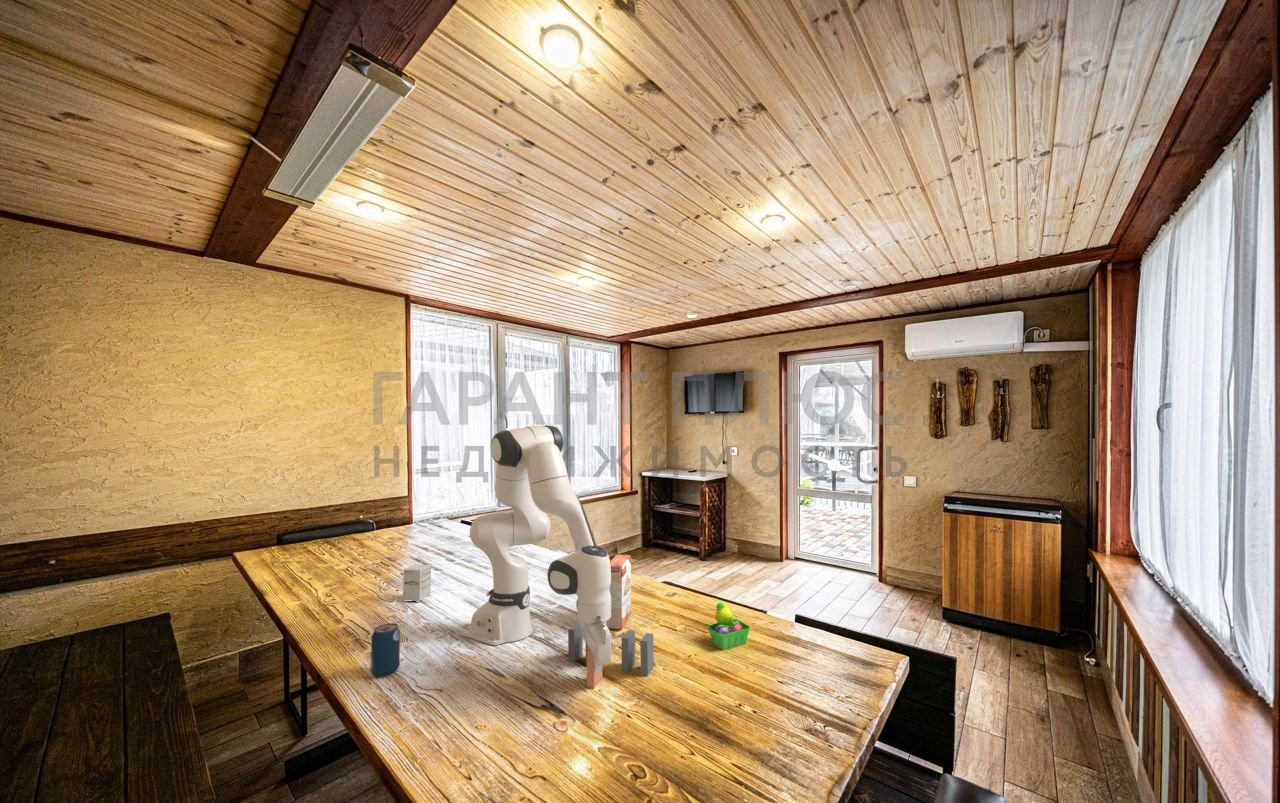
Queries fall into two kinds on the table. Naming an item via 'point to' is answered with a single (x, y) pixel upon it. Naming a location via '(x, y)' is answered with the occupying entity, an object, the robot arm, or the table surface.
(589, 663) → the domino
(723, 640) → the fruit basket
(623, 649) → the domino
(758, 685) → the table surface
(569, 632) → the domino
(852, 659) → the table surface
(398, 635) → the soda can
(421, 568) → the supplement box
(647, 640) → the domino end
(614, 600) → the cracker box
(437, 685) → the table surface
